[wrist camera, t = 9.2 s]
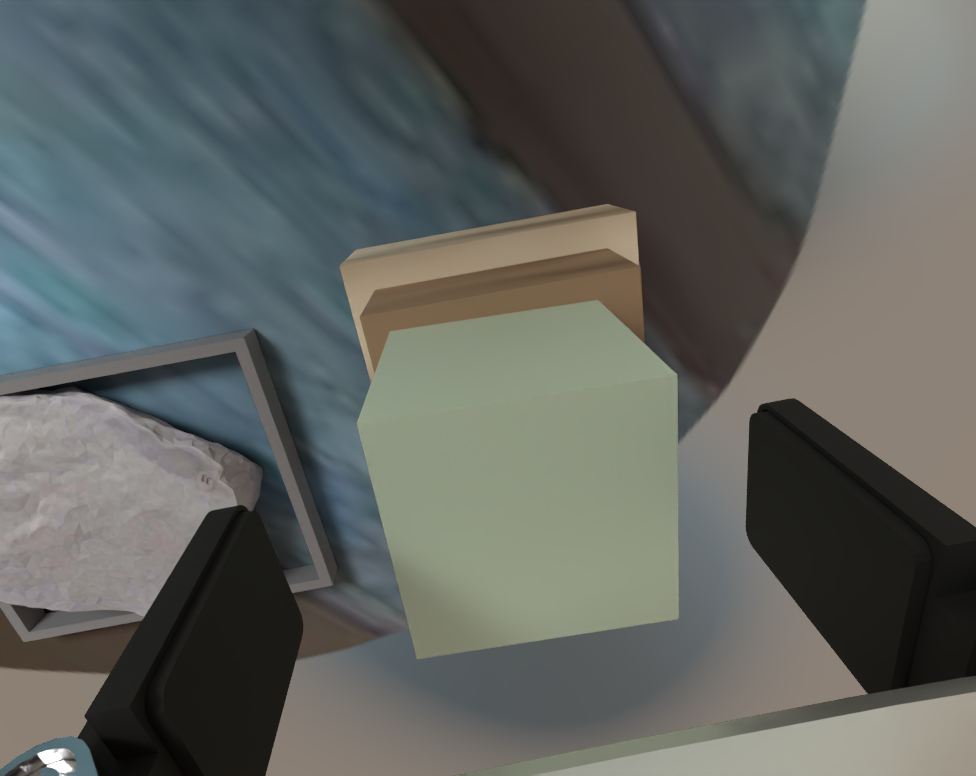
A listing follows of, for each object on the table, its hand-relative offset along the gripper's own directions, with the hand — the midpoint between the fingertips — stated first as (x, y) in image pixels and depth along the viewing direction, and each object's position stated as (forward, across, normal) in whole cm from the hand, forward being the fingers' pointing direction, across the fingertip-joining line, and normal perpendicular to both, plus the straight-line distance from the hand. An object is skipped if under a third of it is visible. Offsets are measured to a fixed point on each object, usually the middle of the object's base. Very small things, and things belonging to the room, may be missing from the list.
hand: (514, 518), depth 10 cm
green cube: (+7, 0, +1) cm, 7 cm away
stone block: (+15, +16, +5) cm, 23 cm away
